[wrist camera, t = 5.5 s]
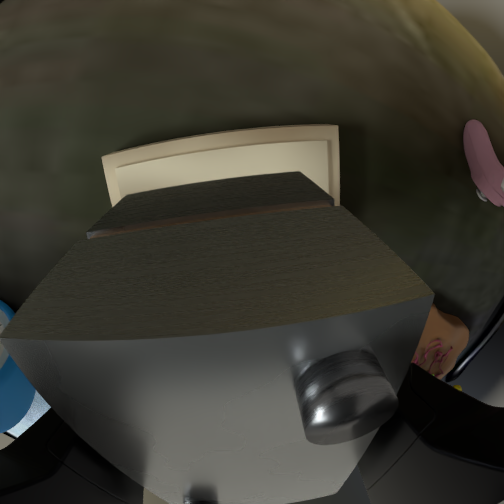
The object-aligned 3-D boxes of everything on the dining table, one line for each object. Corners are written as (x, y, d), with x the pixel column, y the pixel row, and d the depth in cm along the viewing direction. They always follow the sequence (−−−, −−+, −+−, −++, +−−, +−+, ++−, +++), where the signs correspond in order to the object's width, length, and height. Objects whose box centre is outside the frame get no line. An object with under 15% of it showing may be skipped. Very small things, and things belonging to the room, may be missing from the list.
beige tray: (114, 151, 15) (99, 157, 13) (326, 124, 16) (340, 125, 14) (149, 289, 20) (142, 309, 18) (327, 267, 20) (338, 284, 18)
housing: (185, 378, 11) (177, 523, 5) (126, 194, 8) (-23, 370, 2) (301, 365, 11) (340, 508, 6) (299, 170, 8) (466, 330, 2)
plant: (262, 404, 28) (275, 495, 18) (387, 268, 21) (466, 366, 11) (375, 420, 34) (398, 480, 24) (472, 327, 27) (518, 386, 17)
